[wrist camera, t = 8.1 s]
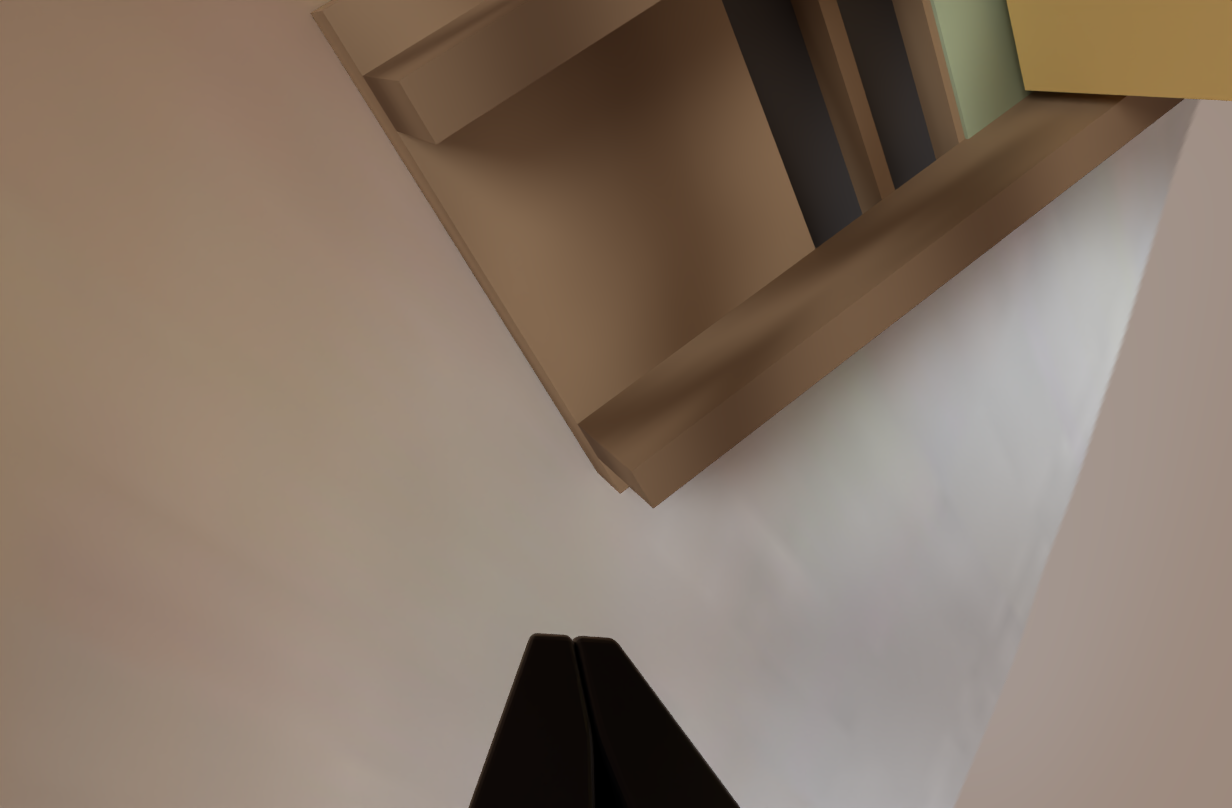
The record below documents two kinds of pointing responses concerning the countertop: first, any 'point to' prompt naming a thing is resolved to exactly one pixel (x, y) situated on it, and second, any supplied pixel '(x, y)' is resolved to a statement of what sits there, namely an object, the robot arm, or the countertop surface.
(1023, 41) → the block
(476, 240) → the board
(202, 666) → the countertop surface
